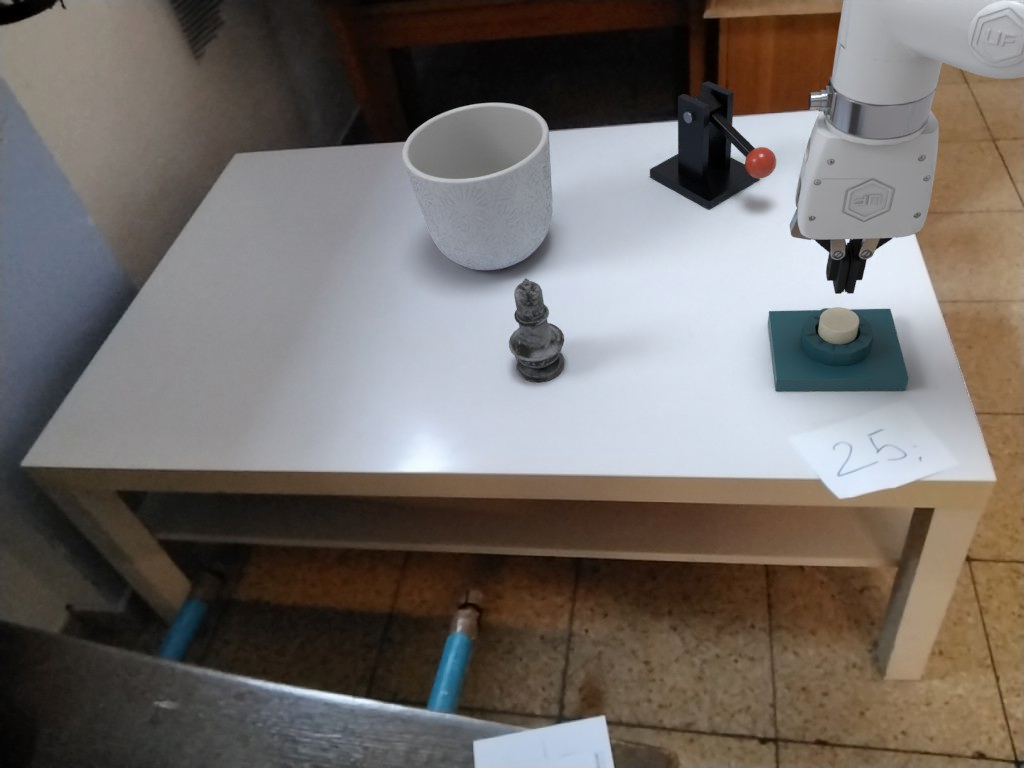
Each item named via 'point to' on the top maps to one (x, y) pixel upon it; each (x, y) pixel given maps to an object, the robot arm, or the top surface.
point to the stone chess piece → (535, 336)
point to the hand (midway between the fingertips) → (842, 283)
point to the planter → (483, 182)
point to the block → (836, 354)
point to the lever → (740, 140)
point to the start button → (838, 326)
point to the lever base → (703, 153)
